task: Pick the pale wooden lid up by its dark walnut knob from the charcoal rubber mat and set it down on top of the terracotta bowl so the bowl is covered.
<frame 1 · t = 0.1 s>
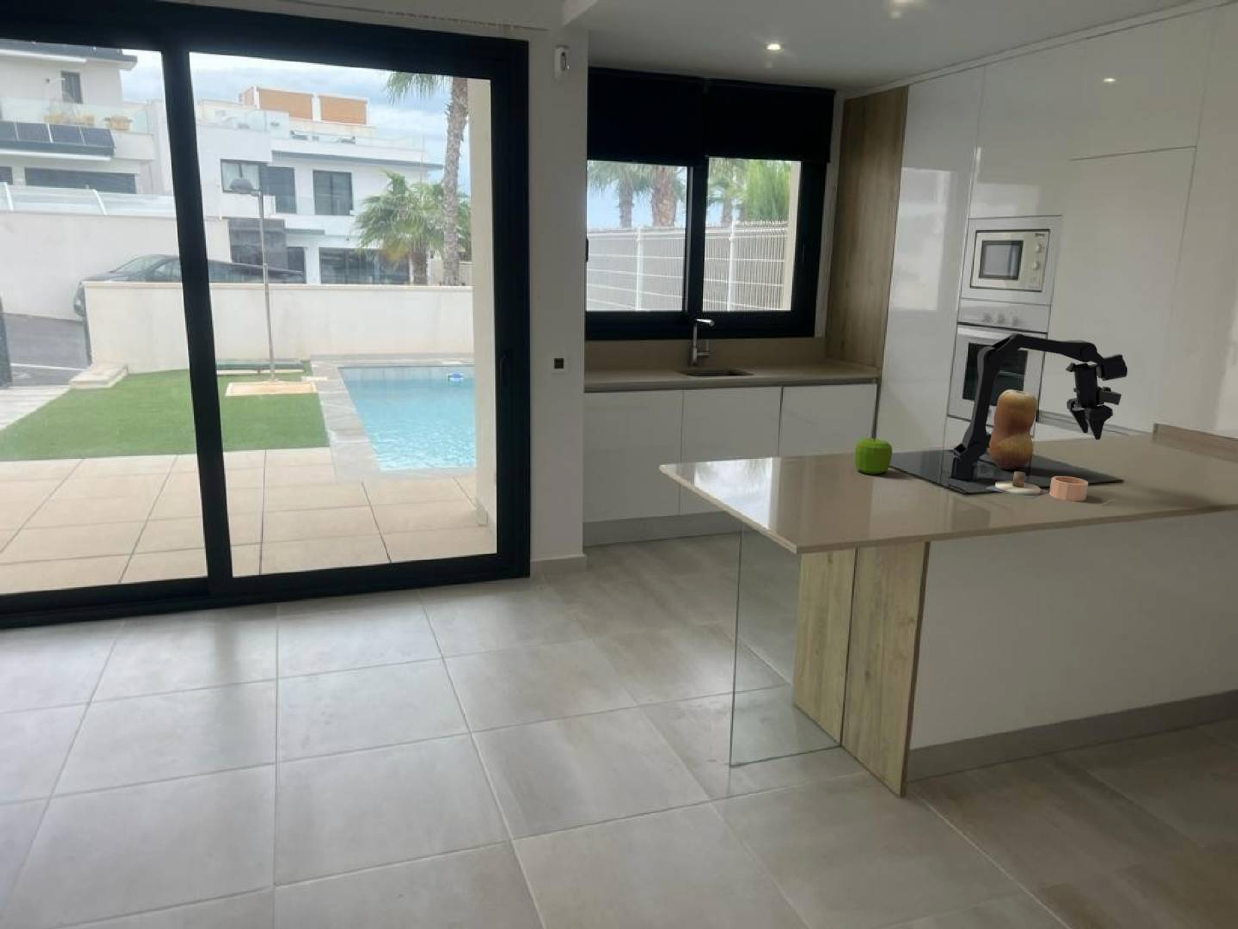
hand: (1091, 436, 259), 15 cm above the table, fingers open, 9 cm apart
apple: (871, 472, 272), on the table
bowl: (1067, 497, 251), on the table
mat: (1017, 490, 256), on the table
butternut squash: (1005, 469, 282), on the table
lid: (1017, 489, 256), resting on mat
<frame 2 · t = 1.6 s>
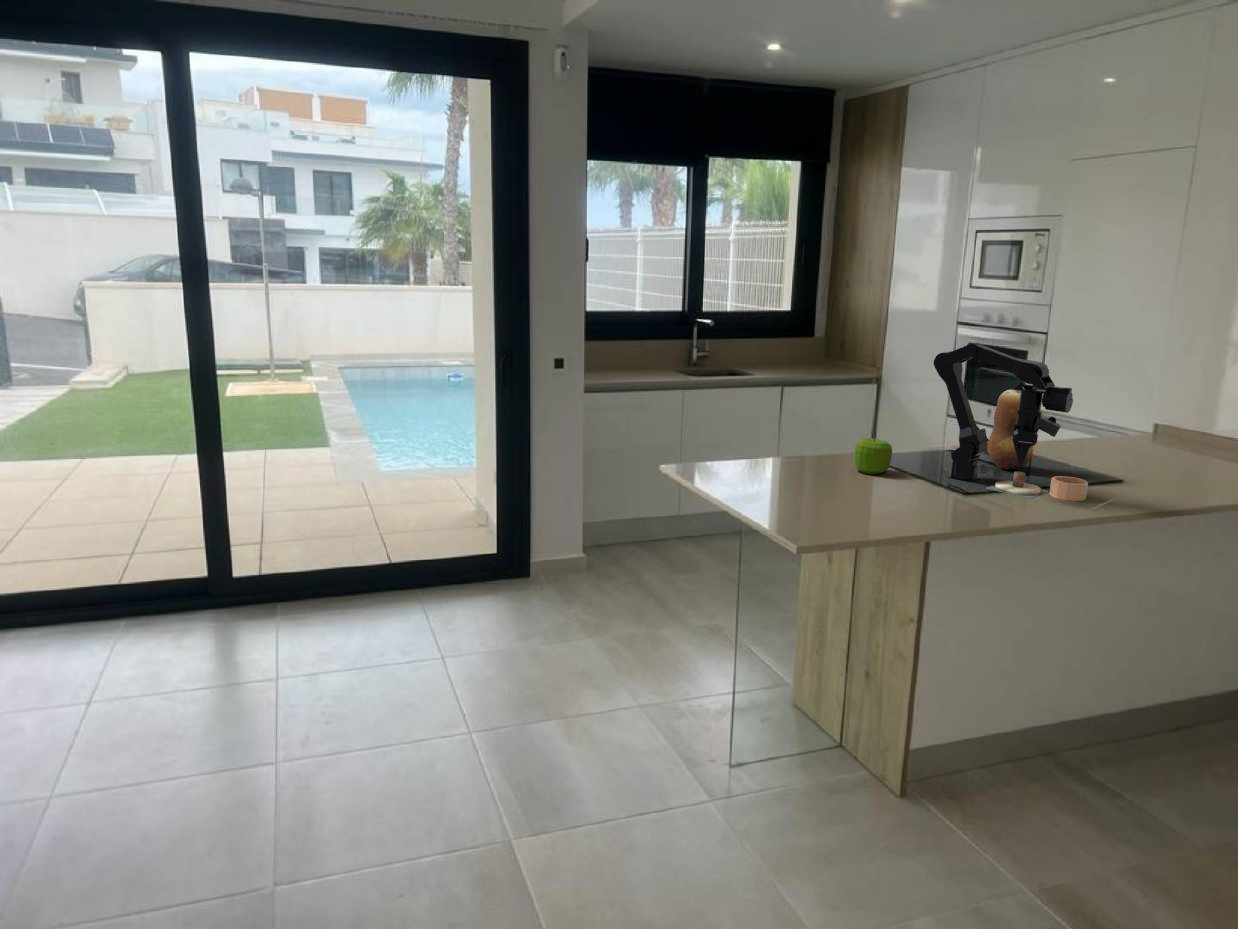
hand: (1021, 460, 254), 9 cm above the table, fingers open, 9 cm apart
nothing on the table moved.
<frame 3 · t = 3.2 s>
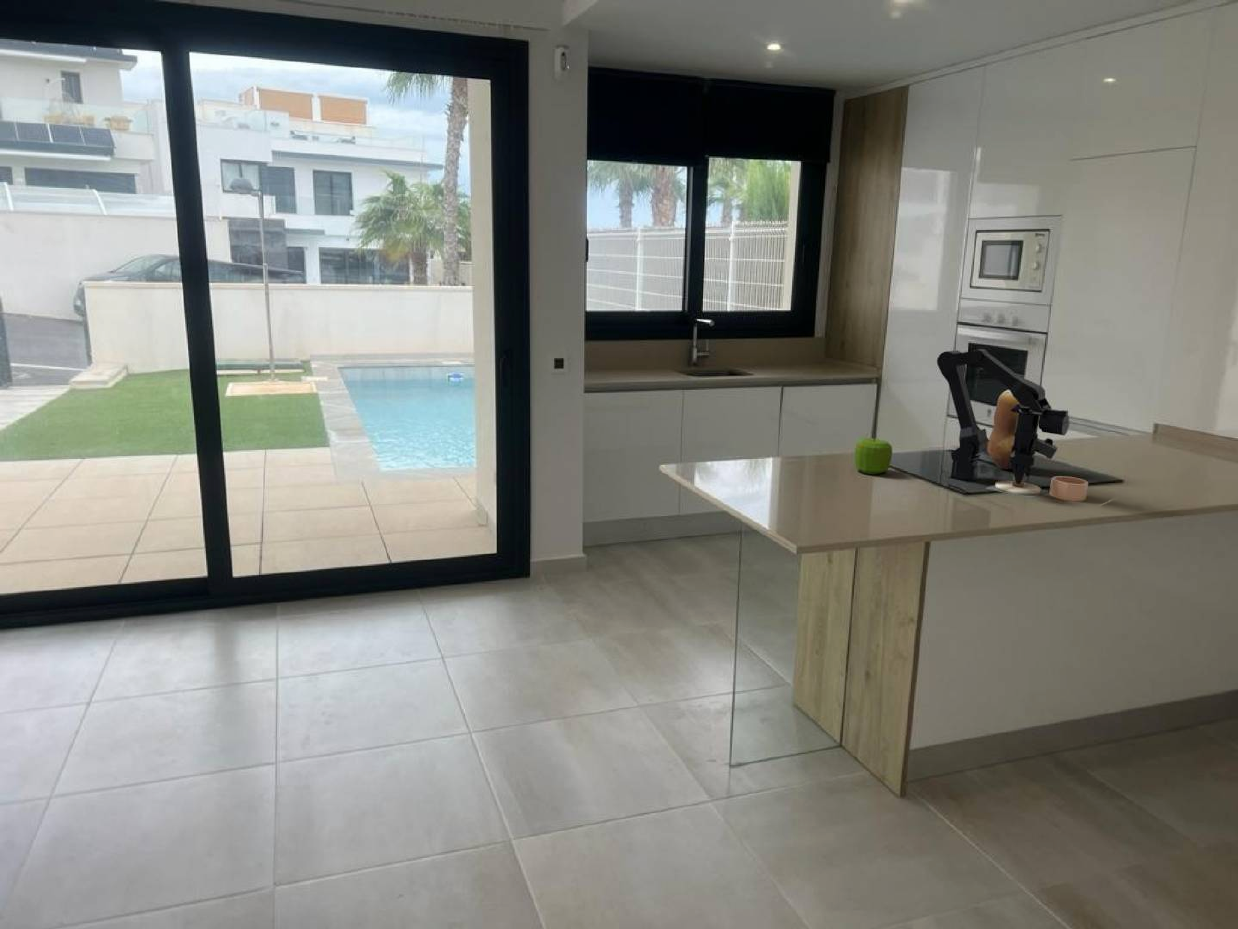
hand: (1018, 482, 255), 3 cm above the table, fingers closed on lid, 3 cm apart
lid: (1017, 489, 256), resting on mat, touching gripper
everything else where it was.
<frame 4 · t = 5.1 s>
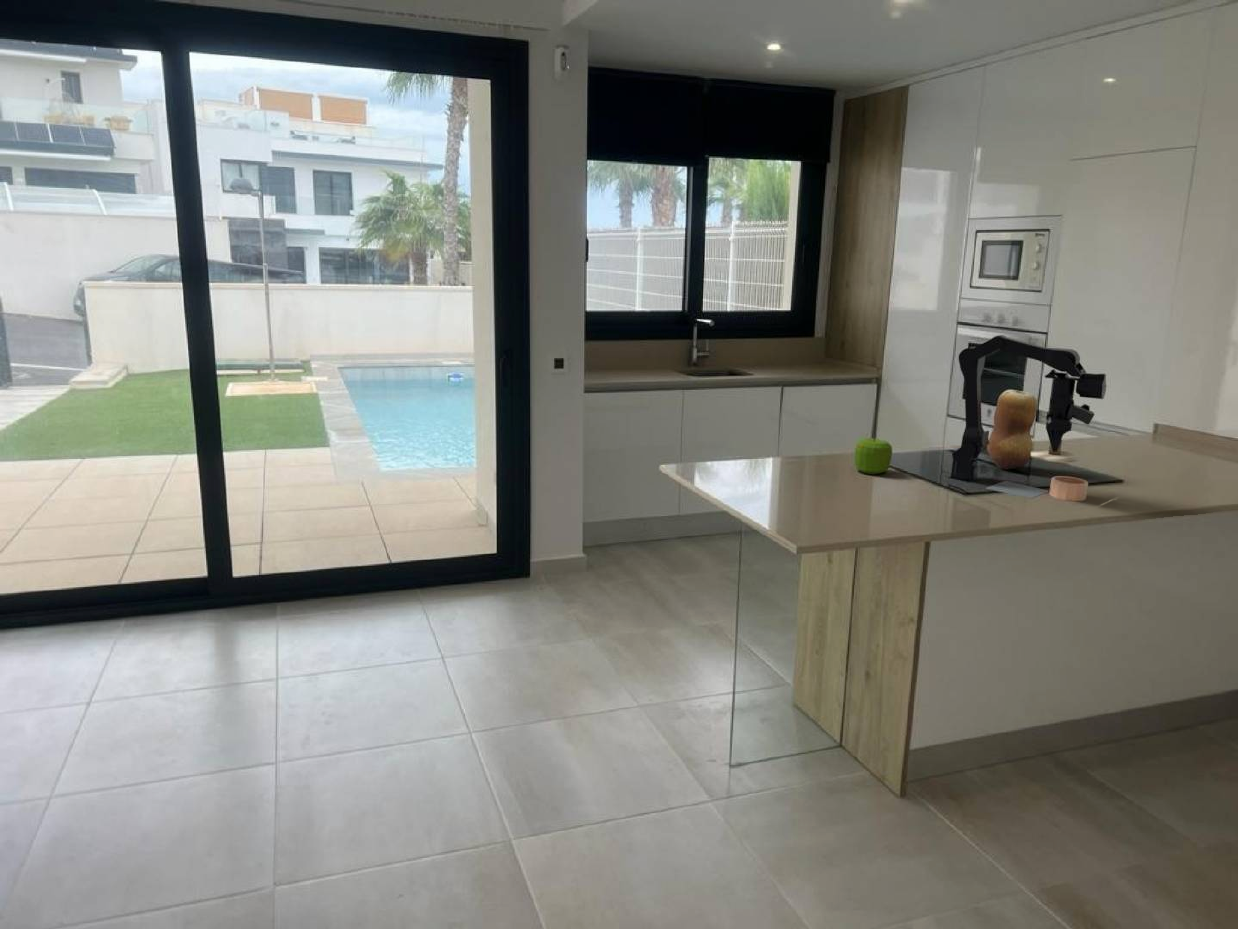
hand: (1054, 450, 249), 13 cm above the table, fingers closed on lid, 3 cm apart
lid: (1053, 457, 250), point 11 cm above the table, touching gripper
everything else where it was.
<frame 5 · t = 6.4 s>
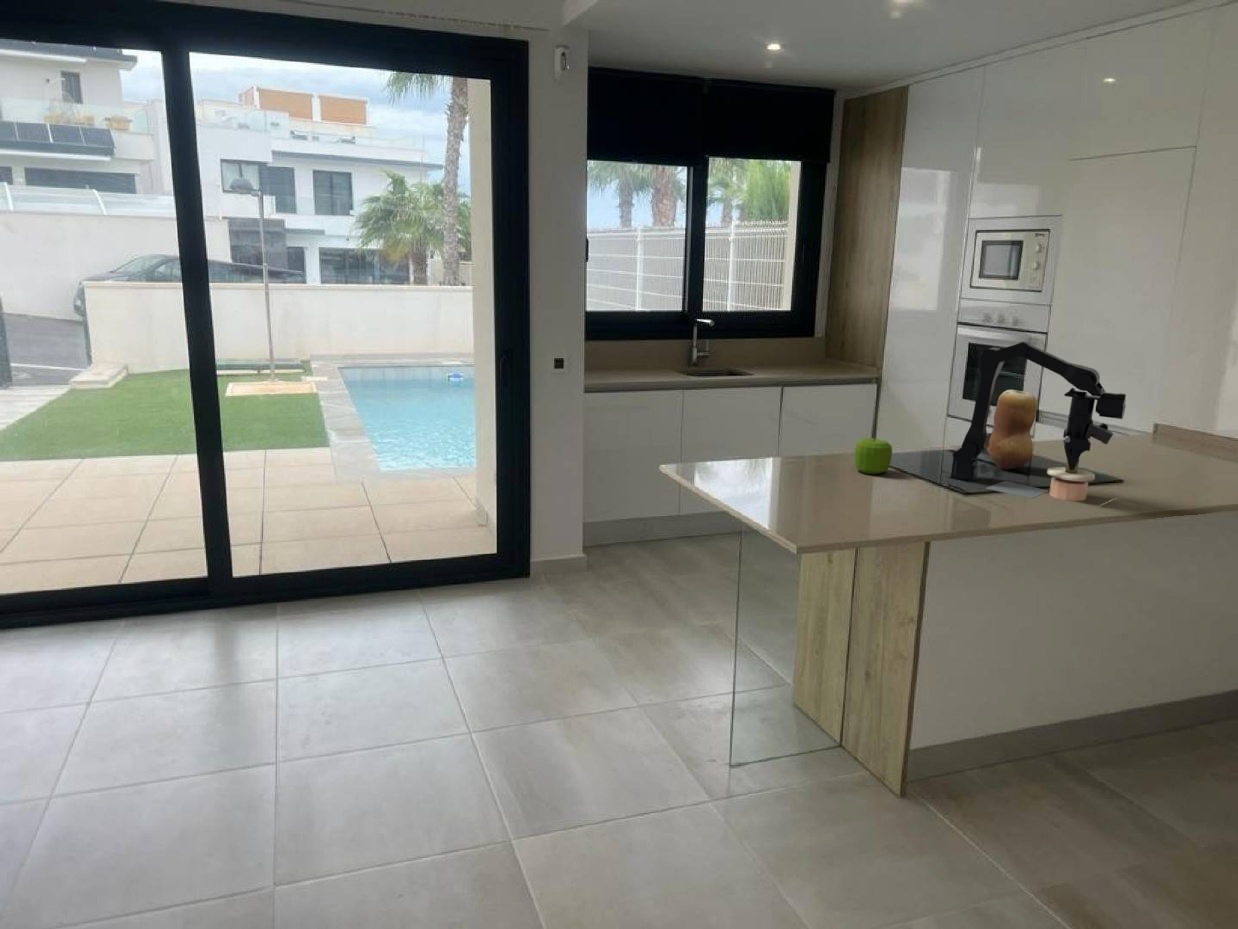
hand: (1071, 468, 249), 8 cm above the table, fingers closed on lid, 3 cm apart
lid: (1070, 475, 249), point 6 cm above the table, touching gripper
everything else where it was.
when the fingers open (8 cm above the table, at t = 7.0 s): lid drops 1 cm, resting on bowl.
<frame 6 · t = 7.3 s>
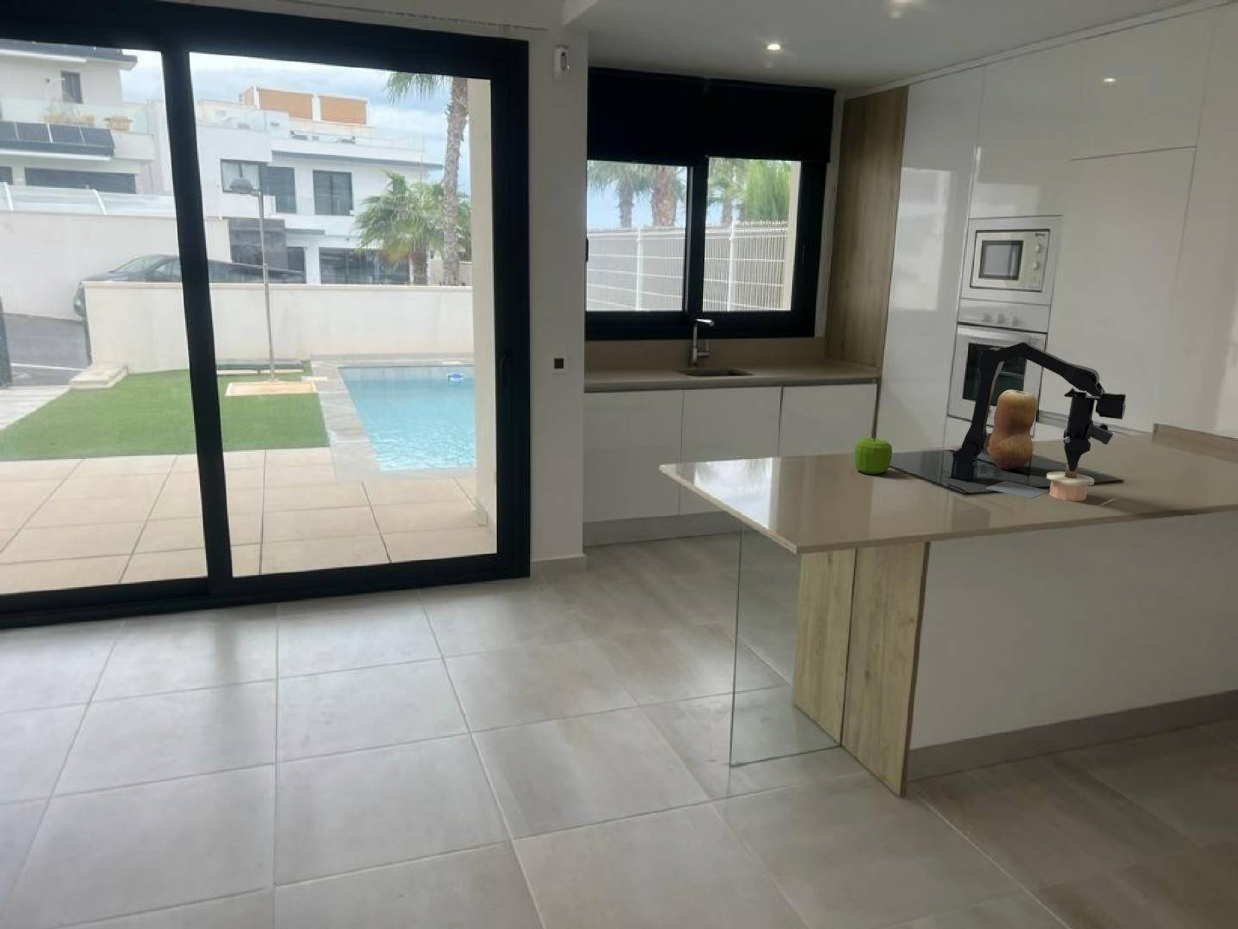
hand: (1071, 469, 249), 8 cm above the table, fingers open, 6 cm apart
lid: (1069, 480, 250), point 5 cm above the table, touching bowl
everything else where it was.
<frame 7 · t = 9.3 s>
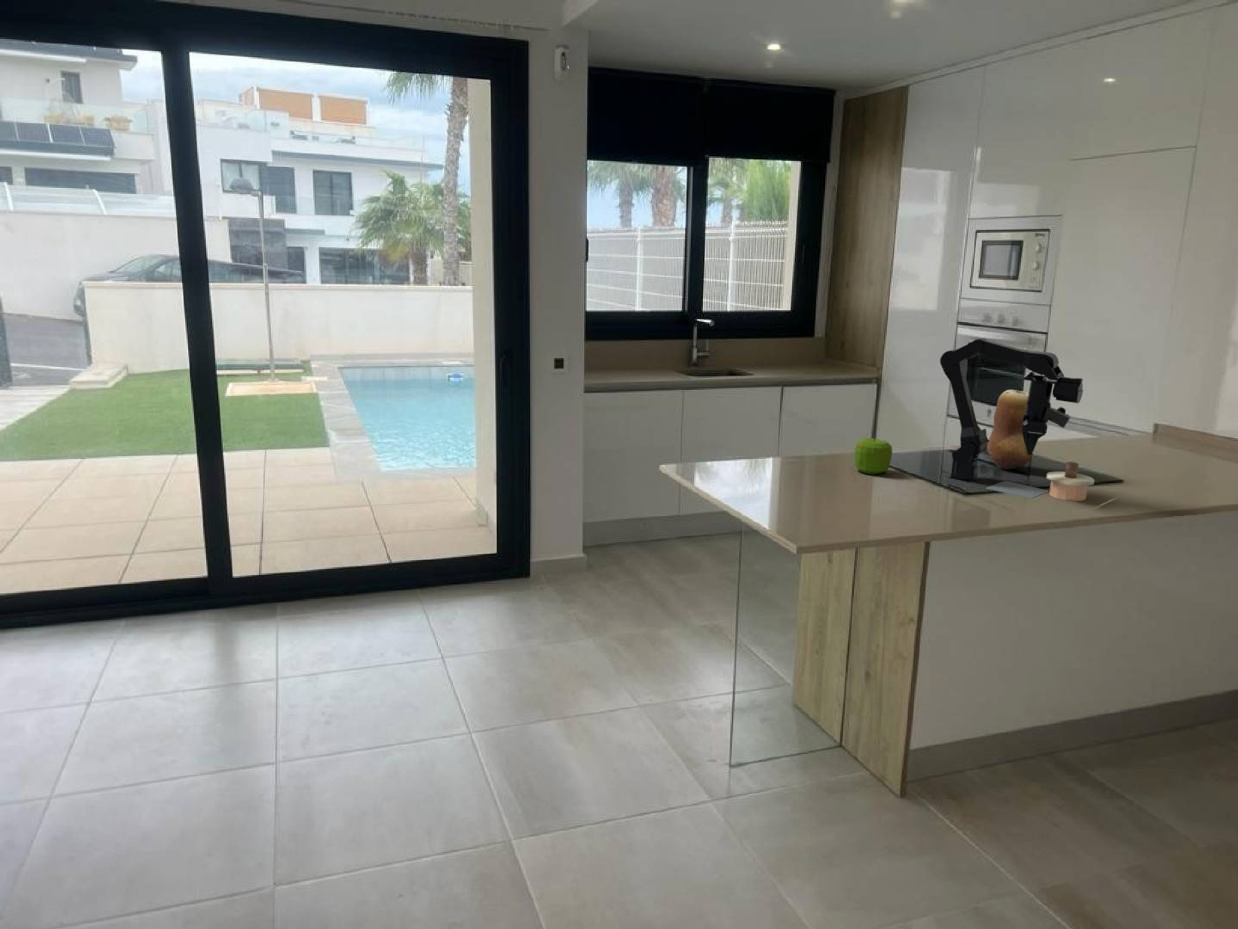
hand: (1029, 451, 253), 12 cm above the table, fingers open, 9 cm apart
nothing on the table moved.
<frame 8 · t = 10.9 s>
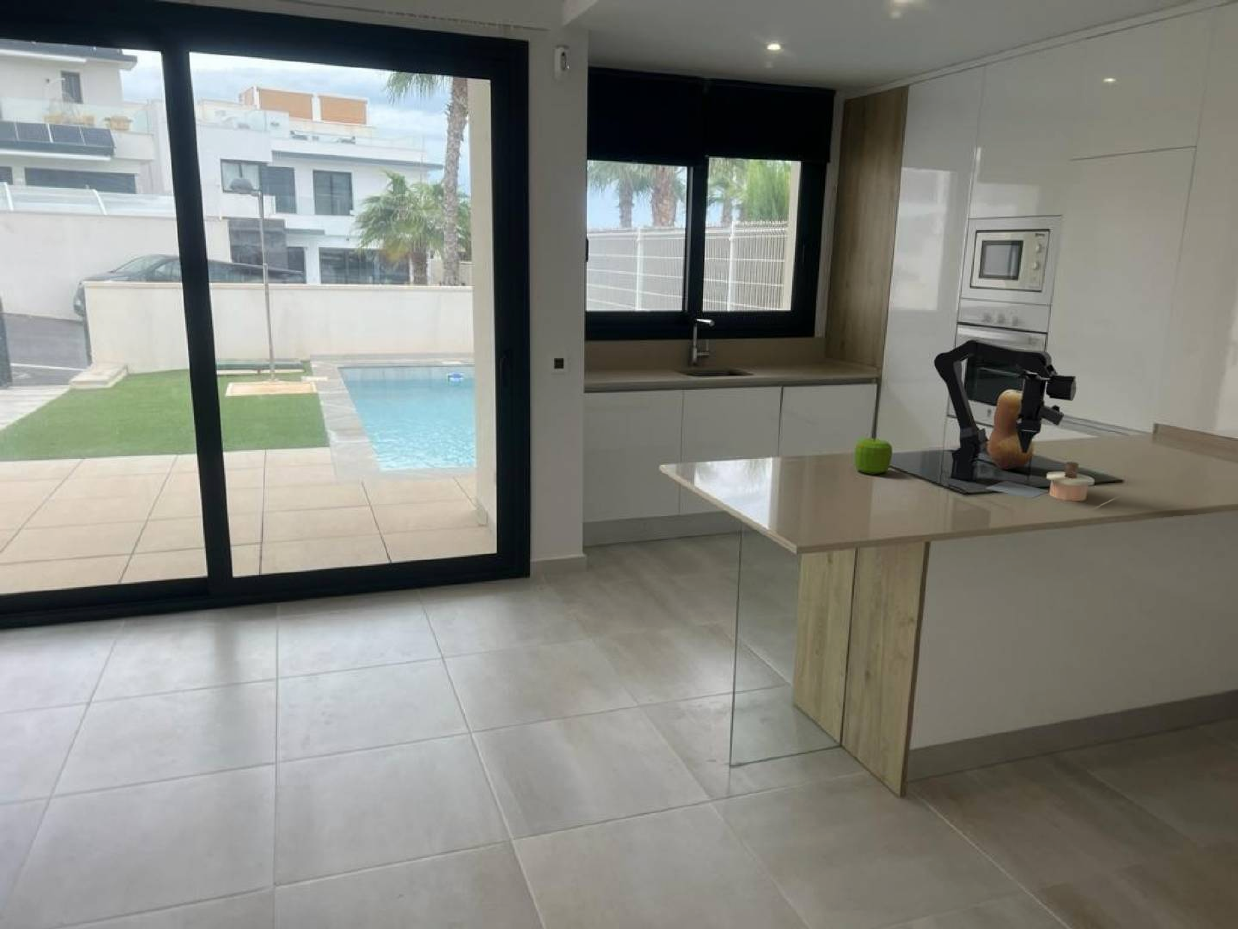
hand: (1024, 449, 254), 12 cm above the table, fingers open, 9 cm apart
nothing on the table moved.
at the end: lid 0.0 cm off-centre on the bowl, point 5.0 cm above the bowl's base; lid tilted 0°; the gripper is holding nothing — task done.
